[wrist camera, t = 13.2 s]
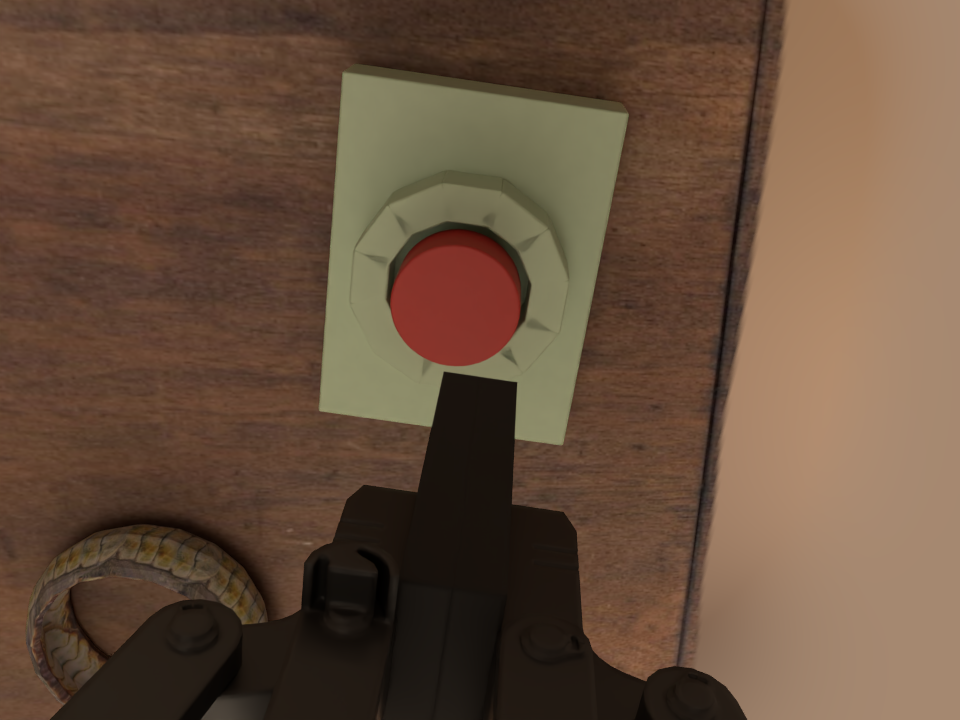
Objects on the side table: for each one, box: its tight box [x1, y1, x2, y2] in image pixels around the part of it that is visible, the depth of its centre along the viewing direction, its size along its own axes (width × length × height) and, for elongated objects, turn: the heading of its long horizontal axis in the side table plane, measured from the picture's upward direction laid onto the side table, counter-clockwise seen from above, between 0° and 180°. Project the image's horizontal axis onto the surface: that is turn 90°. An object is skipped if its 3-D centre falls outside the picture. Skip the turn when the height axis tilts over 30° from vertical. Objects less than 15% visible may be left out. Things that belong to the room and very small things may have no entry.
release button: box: [390, 229, 521, 366], centre depth 29 cm, size 4×4×2 cm
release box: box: [319, 64, 629, 445], centre depth 31 cm, size 12×9×4 cm
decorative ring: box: [26, 524, 268, 705], centre depth 39 cm, size 10×3×10 cm
